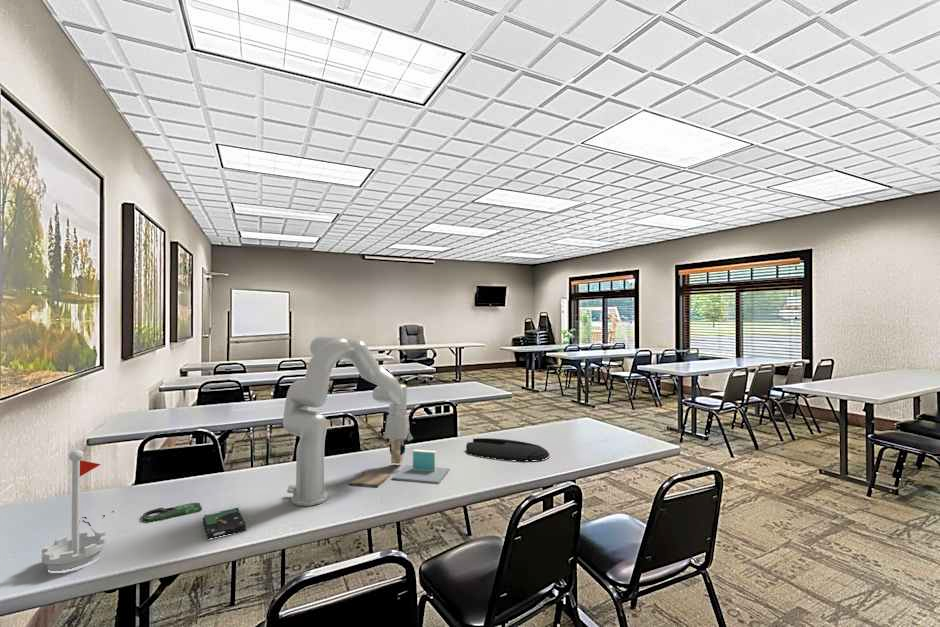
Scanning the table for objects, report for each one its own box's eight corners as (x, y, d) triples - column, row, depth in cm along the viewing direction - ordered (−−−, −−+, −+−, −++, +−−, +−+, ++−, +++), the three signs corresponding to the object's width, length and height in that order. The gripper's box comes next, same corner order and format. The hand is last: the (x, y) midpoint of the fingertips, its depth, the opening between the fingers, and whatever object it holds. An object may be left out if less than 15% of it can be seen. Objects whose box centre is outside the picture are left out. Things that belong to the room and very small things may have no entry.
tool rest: (349, 484, 175) (349, 482, 175) (363, 474, 187) (363, 471, 187) (377, 487, 173) (377, 484, 173) (389, 476, 184) (389, 474, 184)
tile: (412, 469, 190) (412, 450, 190) (414, 468, 193) (414, 449, 193) (434, 471, 188) (434, 452, 188) (436, 469, 190) (436, 451, 190)
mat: (391, 479, 181) (391, 477, 181) (405, 466, 197) (405, 464, 197) (438, 483, 177) (438, 481, 177) (449, 470, 192) (449, 468, 192)
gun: (199, 498, 159) (202, 508, 151) (199, 502, 159) (202, 512, 151) (142, 510, 149) (142, 521, 141) (142, 514, 149) (142, 525, 141)
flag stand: (44, 582, 110) (45, 461, 111) (39, 562, 119) (40, 450, 119) (111, 561, 120) (111, 449, 120) (101, 544, 129) (102, 440, 129)
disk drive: (246, 532, 137) (237, 515, 149) (246, 523, 137) (237, 506, 149) (208, 543, 131) (201, 523, 143) (208, 533, 131) (201, 514, 143)
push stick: (391, 462, 196) (391, 437, 197) (394, 460, 200) (395, 435, 201) (399, 463, 195) (400, 438, 196) (403, 461, 199) (403, 436, 200)
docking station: (542, 466, 198) (542, 455, 198) (459, 455, 214) (459, 445, 214) (554, 451, 221) (554, 441, 221) (478, 442, 237) (478, 433, 237)
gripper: (377, 412, 197) (376, 454, 196) (412, 415, 193) (412, 457, 193) (383, 409, 204) (383, 450, 203) (418, 411, 200) (417, 452, 200)
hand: (397, 453), depth 198 cm, fingers closed on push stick, 4 cm apart
